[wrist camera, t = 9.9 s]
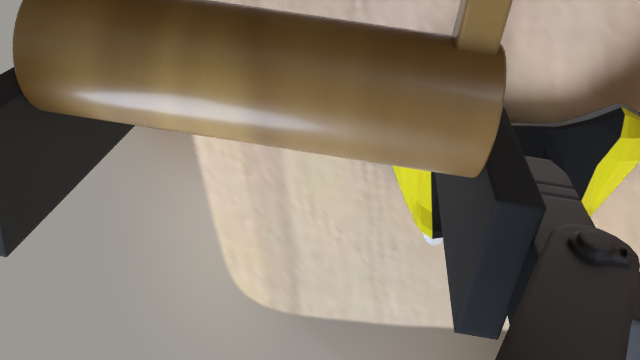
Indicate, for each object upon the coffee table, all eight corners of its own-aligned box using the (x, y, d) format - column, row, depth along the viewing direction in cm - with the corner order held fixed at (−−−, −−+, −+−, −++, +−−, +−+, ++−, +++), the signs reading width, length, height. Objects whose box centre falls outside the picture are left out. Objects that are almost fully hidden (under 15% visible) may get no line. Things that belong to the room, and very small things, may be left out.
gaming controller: (386, 79, 37) (383, 212, 42) (385, 112, 32) (381, 257, 37) (634, 81, 35) (601, 219, 40) (671, 116, 31) (628, 268, 35)
